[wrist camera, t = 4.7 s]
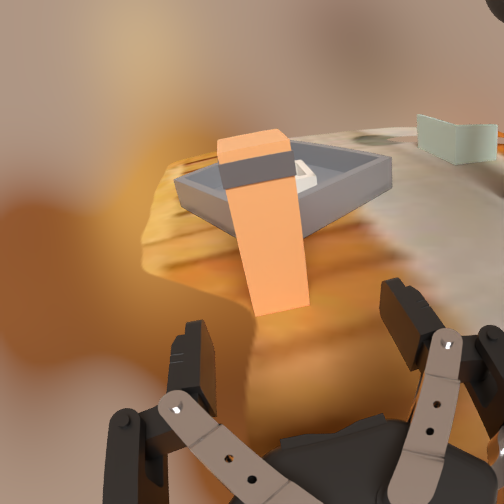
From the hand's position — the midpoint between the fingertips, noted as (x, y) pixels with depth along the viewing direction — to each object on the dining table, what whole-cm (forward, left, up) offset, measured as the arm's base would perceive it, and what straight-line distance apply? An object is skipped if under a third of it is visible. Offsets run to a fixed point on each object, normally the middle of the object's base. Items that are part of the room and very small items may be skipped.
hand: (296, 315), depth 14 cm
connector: (-5, -10, -8) cm, 13 cm away
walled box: (-19, -26, -8) cm, 33 cm away
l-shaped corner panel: (-55, -14, -8) cm, 58 cm away
